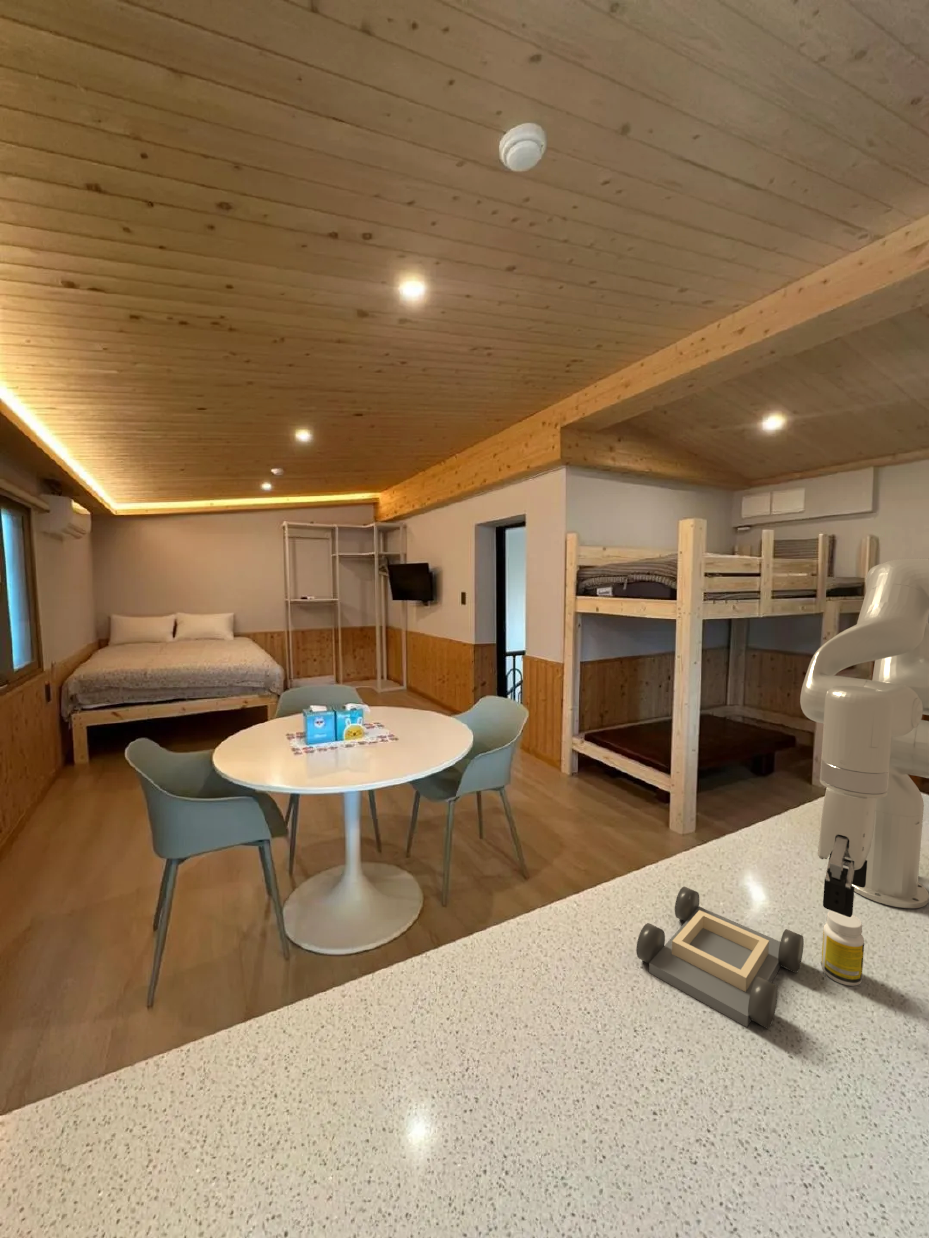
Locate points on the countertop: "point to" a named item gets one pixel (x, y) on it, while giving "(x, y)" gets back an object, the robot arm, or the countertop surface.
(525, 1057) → the countertop surface
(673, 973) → the toy chassis
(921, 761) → the robot arm
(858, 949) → the supplement bottle
